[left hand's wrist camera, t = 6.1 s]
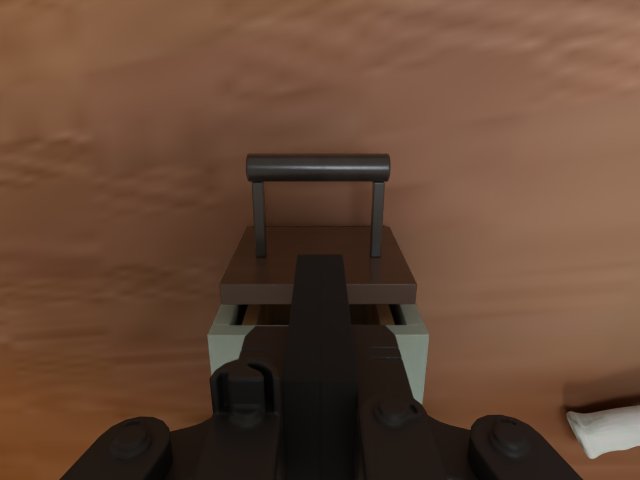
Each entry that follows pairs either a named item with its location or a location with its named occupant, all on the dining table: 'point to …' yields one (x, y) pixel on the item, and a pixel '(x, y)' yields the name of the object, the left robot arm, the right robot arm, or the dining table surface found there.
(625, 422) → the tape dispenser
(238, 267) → the drawer
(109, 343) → the dining table surface
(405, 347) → the pale green box
